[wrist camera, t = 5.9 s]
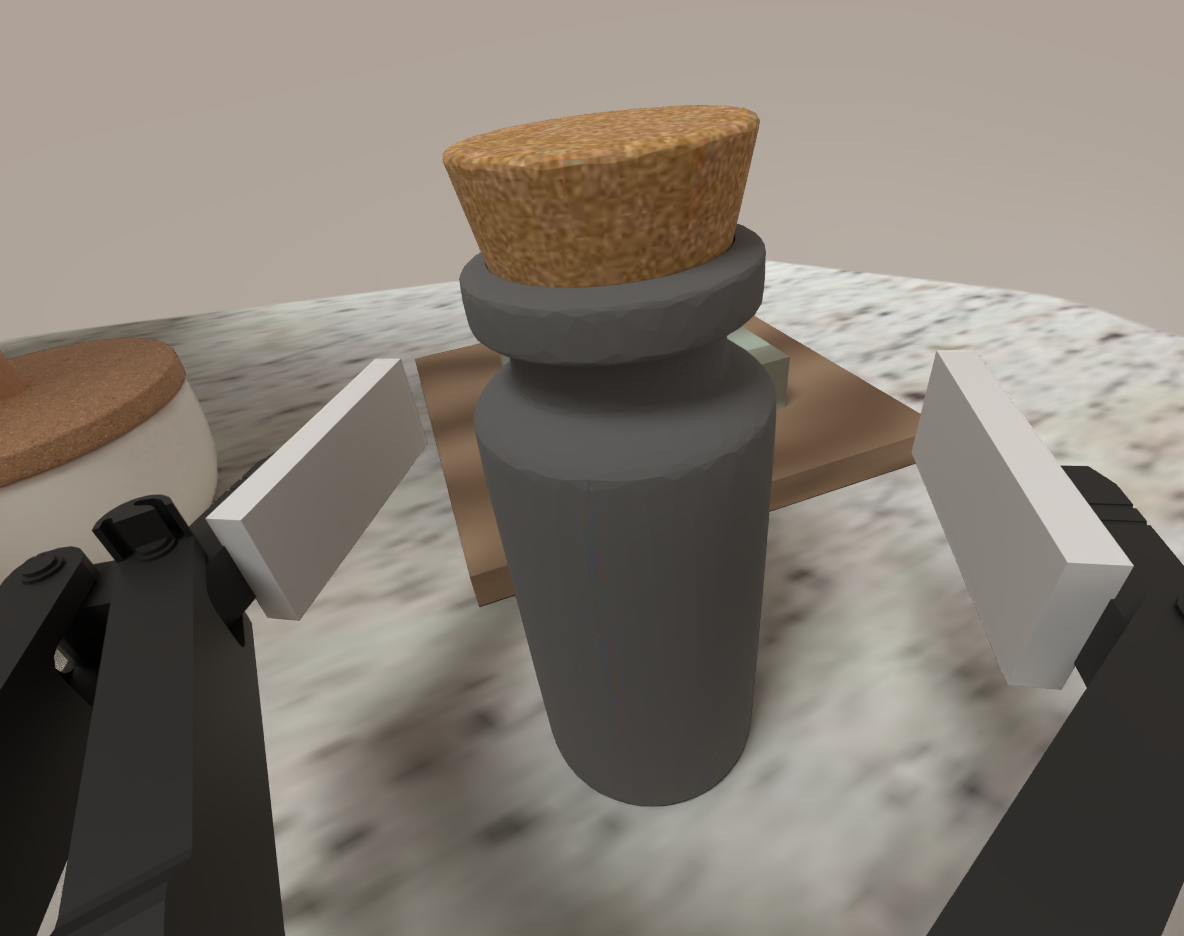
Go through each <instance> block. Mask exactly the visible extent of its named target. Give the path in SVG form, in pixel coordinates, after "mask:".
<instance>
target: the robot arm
mask: <svg viewBox="0 0 1184 936" xmlns="http://www.w3.org/2000/svg"><path fill="white" fill-rule="evenodd" d="M427 444H428V443H427V440H426V437H425V434H424V431H423V428H422V424H421V421H420V418H419V415H418V412H417V409H416V406H415V402H414V399H413V396H412V393H411V390H410V387H409V383H408V380H407V377H406V374H405V371H404V368H403V365H402V361H401V359H374V360H373V361H372V362H371V363H370V364H369V365H368V366H367V367H366V368H365V369H364V370H363V371H362V372H361V373H360V374H358V375H357V376H356V377H355V378H354V379H353V380H352V381H351V382H350V383H349V384H348V385H347V386H346V387H345V388H344V389H343V390H341V391H340V392H339V393H338V394H337V395H336V396H335V397H334V398H333V399H332V400H331V401H330V402H329V403H328V404H327V405H325V406H324V407H323V408H322V409H321V410H320V411H319V412H318V413H317V414H316V415H315V416H314V417H313V418H312V419H311V420H310V421H308V422H307V423H306V424H305V425H304V426H303V427H302V428H301V429H300V430H299V431H298V432H297V433H296V434H295V435H294V436H293V437H291V438H290V439H289V440H288V441H287V442H286V443H285V444H284V445H283V446H282V447H281V448H280V449H279V450H278V451H277V452H275V453H273V454H272V455H270V456H268V457H266V458H265V459H263V460H261V461H260V462H258V463H257V464H256V465H254V466H253V467H252V468H251V469H250V470H249V471H248V472H247V473H246V474H245V475H244V476H243V477H242V480H238V481H237V482H236V483H235V484H234V485H233V486H232V487H231V488H230V491H226V492H225V493H224V494H223V495H222V496H221V497H220V498H219V499H218V500H217V501H216V502H215V503H213V504H212V505H211V506H210V507H209V508H208V509H207V510H206V511H205V512H204V513H203V514H202V515H200V516H199V517H198V518H197V519H196V520H195V521H194V522H193V523H192V524H191V525H190V526H188V524H187V523H186V521H185V520H184V518H183V517H182V515H181V514H180V512H179V511H178V509H177V507H176V506H175V504H174V503H173V501H172V500H171V498H170V497H168V496H165V495H162V494H159V495H147V496H143V497H139V498H135V499H133V500H130V501H128V502H126V503H123V504H121V505H119V506H117V507H116V508H114V509H112V510H111V511H109V512H107V513H106V514H105V515H104V516H103V517H101V518H100V519H99V520H98V521H97V522H96V523H95V525H94V527H93V529H92V530H91V531H92V532H93V533H94V535H95V536H96V537H97V538H98V540H99V541H100V542H101V543H102V545H103V546H104V547H105V549H106V550H107V551H108V552H109V554H110V555H111V556H112V557H113V559H114V560H113V561H108V562H102V563H97V564H93V563H92V562H91V561H90V560H89V558H88V557H87V556H86V555H85V553H84V552H83V551H82V550H81V549H80V548H78V547H73V546H69V547H61V548H57V549H54V550H50V551H45V552H42V553H40V554H38V555H37V556H36V557H35V556H33V557H31V558H30V559H28V560H26V561H25V562H24V563H23V564H22V565H20V566H19V567H17V568H16V569H15V570H13V571H12V572H11V573H10V574H9V575H8V576H7V577H6V578H5V579H4V581H3V582H2V583H1V585H0V936H37V933H38V931H39V928H40V926H41V923H42V921H43V918H44V916H45V913H46V911H47V909H48V906H49V904H50V901H51V899H52V896H53V894H54V891H55V889H56V886H57V884H58V882H59V879H60V877H61V874H62V872H63V869H64V867H65V864H66V862H67V867H66V873H65V879H64V885H63V891H62V897H61V903H60V909H59V915H58V920H57V923H56V926H55V929H54V931H53V932H52V934H51V935H50V936H285V931H284V923H283V913H282V904H281V894H280V885H279V875H278V866H277V857H276V847H275V838H274V828H273V819H272V809H271V800H270V791H269V781H268V772H267V762H266V753H265V743H264V734H263V724H262V715H261V706H260V696H259V687H258V677H257V668H256V658H255V649H254V639H253V630H252V623H251V621H250V619H249V617H248V616H247V614H246V613H245V610H246V609H247V608H248V607H249V605H250V604H251V603H252V602H253V601H254V599H255V598H256V600H257V602H258V603H259V605H260V606H261V608H262V609H263V611H264V613H265V614H266V616H267V617H268V618H276V619H287V620H298V621H300V619H301V618H302V616H303V615H304V614H305V612H306V611H307V610H308V608H309V607H310V605H311V604H312V603H313V601H314V600H315V598H316V597H317V596H318V594H319V593H320V592H321V590H322V589H323V587H324V586H325V585H326V583H327V582H328V581H329V579H330V578H331V576H332V575H333V574H334V572H335V571H336V570H337V568H338V567H339V565H340V564H341V563H342V561H343V560H344V558H345V557H346V556H347V554H348V553H349V552H350V550H351V549H352V547H353V546H354V545H355V543H356V542H357V541H358V539H359V538H360V536H361V535H362V534H363V532H364V531H365V530H366V528H367V527H368V525H369V524H370V523H371V521H372V520H373V519H374V517H375V516H376V514H377V513H378V512H379V510H380V509H381V507H382V506H383V505H384V503H385V502H386V501H387V499H388V498H389V496H390V495H391V494H392V492H393V491H394V490H395V488H396V487H397V485H398V484H399V483H400V481H401V480H402V479H403V477H404V476H405V474H406V473H407V472H408V470H409V469H410V467H411V466H412V465H413V463H414V462H415V461H416V459H417V458H418V456H419V455H420V454H421V452H422V451H423V450H424V448H425V447H426V445H427ZM911 453H912V455H913V457H914V460H915V462H916V465H917V467H918V469H919V472H920V474H921V477H922V479H923V482H924V484H925V486H926V489H927V491H928V494H929V496H930V499H931V501H932V503H933V506H934V508H935V511H936V513H937V516H938V518H939V520H940V523H941V525H942V528H943V530H944V533H945V535H946V537H947V540H948V542H949V545H950V547H951V549H952V552H953V554H954V557H955V559H956V562H957V564H958V566H959V569H960V571H961V574H962V576H963V579H964V581H965V583H966V586H967V588H968V591H969V593H970V596H971V598H972V600H973V603H974V605H975V608H976V610H977V613H978V615H979V617H980V620H981V622H982V625H983V627H984V629H985V632H986V634H987V637H988V639H989V642H990V644H991V646H992V649H993V651H994V654H995V656H996V659H997V661H998V663H999V666H1000V668H1001V671H1002V673H1003V676H1004V678H1005V680H1006V683H1007V685H1014V686H1025V687H1036V688H1047V689H1059V690H1062V688H1063V686H1064V685H1065V683H1066V681H1067V679H1068V678H1069V676H1070V674H1071V673H1072V671H1073V669H1074V667H1075V666H1076V668H1077V670H1078V672H1079V674H1080V676H1081V677H1082V679H1083V681H1084V683H1085V685H1086V687H1087V689H1086V690H1085V692H1084V693H1083V695H1082V696H1081V698H1080V700H1079V701H1078V703H1077V704H1076V706H1075V707H1074V709H1073V710H1072V712H1071V713H1070V715H1069V716H1068V718H1067V720H1066V721H1065V723H1064V724H1063V726H1062V727H1061V729H1060V730H1059V732H1058V733H1057V735H1056V737H1055V738H1054V740H1053V741H1052V743H1051V744H1050V746H1049V747H1048V749H1047V750H1046V752H1045V753H1044V755H1043V757H1042V758H1041V760H1040V761H1039V763H1038V764H1037V766H1036V767H1035V769H1034V770H1033V772H1032V774H1031V775H1030V777H1029V778H1028V780H1027V781H1026V783H1025V784H1024V786H1023V787H1022V789H1021V791H1020V792H1019V794H1018V795H1017V797H1016V798H1015V800H1014V801H1013V803H1012V804H1011V806H1010V807H1009V809H1008V811H1007V812H1006V814H1005V815H1004V817H1003V818H1002V820H1001V821H1000V823H999V824H998V826H997V828H996V829H995V831H994V832H993V834H992V835H991V837H990V838H989V840H988V841H987V843H986V844H985V846H984V848H983V849H982V851H981V852H980V854H979V855H978V857H977V858H976V860H975V861H974V863H973V865H972V866H971V868H970V869H969V871H968V872H967V874H966V875H965V877H964V878H963V880H962V881H961V883H960V885H959V886H958V888H957V889H956V891H955V892H954V894H953V895H952V897H951V898H950V900H949V902H948V903H947V905H946V906H945V908H944V909H943V911H942V912H941V914H940V915H939V917H938V918H937V920H936V922H935V923H934V925H933V926H932V928H931V929H930V931H929V932H928V934H927V935H926V936H1161V935H1162V933H1163V930H1164V928H1165V926H1166V923H1167V921H1168V918H1169V916H1170V914H1171V911H1172V909H1173V906H1174V904H1175V902H1176V899H1177V897H1178V895H1179V892H1180V890H1181V887H1182V885H1183V883H1184V565H1183V564H1182V563H1181V562H1180V561H1179V559H1178V558H1177V557H1176V556H1175V554H1174V553H1173V552H1172V551H1171V550H1170V548H1169V547H1168V546H1167V545H1166V544H1165V542H1164V541H1163V540H1162V539H1161V538H1160V536H1159V535H1158V534H1157V533H1156V532H1155V530H1154V529H1153V528H1152V527H1151V525H1147V521H1146V519H1145V518H1144V517H1143V516H1142V515H1141V513H1140V512H1139V511H1138V510H1137V509H1136V508H1133V504H1132V503H1131V501H1130V500H1129V499H1128V498H1127V496H1126V495H1125V494H1124V493H1123V492H1122V490H1121V489H1120V488H1119V487H1118V486H1117V484H1115V483H1114V482H1112V481H1111V480H1109V479H1108V478H1106V477H1104V476H1103V475H1101V474H1100V473H1098V472H1097V471H1095V470H1093V469H1092V468H1090V467H1089V466H1060V465H1059V463H1058V462H1057V461H1056V459H1055V458H1054V457H1053V455H1052V454H1051V453H1050V451H1049V450H1048V448H1047V447H1046V446H1045V444H1044V443H1043V442H1042V440H1041V439H1040V438H1039V436H1038V435H1037V433H1036V432H1035V431H1034V429H1033V428H1032V427H1031V425H1030V424H1029V423H1028V421H1027V420H1026V419H1025V417H1024V416H1023V414H1022V413H1021V412H1020V410H1019V409H1018V408H1017V406H1016V405H1015V404H1014V402H1013V401H1012V399H1011V398H1010V397H1009V395H1008V394H1007V393H1006V391H1005V390H1004V389H1003V387H1002V386H1001V385H1000V383H999V382H998V380H997V379H996V378H995V376H994V375H993V374H992V372H991V371H990V370H989V368H988V367H987V365H986V364H985V363H984V361H983V360H982V359H981V357H980V356H979V355H978V353H977V352H976V351H975V350H937V351H936V355H935V359H934V363H933V367H932V371H931V375H930V379H929V383H928V387H927V392H926V396H925V400H924V404H923V408H922V412H921V416H920V420H919V424H918V428H917V432H916V436H915V440H914V444H913V448H912V452H911ZM56 648H57V649H58V650H59V651H60V652H61V653H62V654H63V655H64V657H65V658H66V659H67V660H68V662H67V664H66V666H65V668H64V669H63V670H62V672H60V671H58V670H57V669H56V668H55V662H54V655H55V652H56ZM67 859H68V861H67Z"/></svg>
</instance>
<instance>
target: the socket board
mask: <svg viewBox="0 0 1184 936" xmlns="http://www.w3.org/2000/svg"><path fill="white" fill-rule="evenodd" d="M727 339H729V340H730V341H732V342H734V343H735V344H737V345H739V346H740V347H742V348H744V349H745V350H747V351H748V352H749V353H750V354H751V355H753V356H754V357H755V358H756V359H757V360H758V361H759V362H760V363H761V364H762V365H763V367H764V368H765V370H766V371H767V373H768V374H769V376H770V377H771V379H772V380H773V384H774V387H775V392H776V429H775V444H774V459H773V474H772V486H771V498H770V510H769V511H771V510H774V509H777V508H780V507H783V506H786V505H789V504H793V503H796V502H799V501H802V500H805V499H808V498H811V497H814V496H817V495H820V494H823V493H826V492H829V491H832V490H835V489H838V488H841V487H844V486H847V485H850V484H853V483H856V482H859V481H863V480H866V479H869V478H872V477H875V476H878V475H881V474H884V473H887V472H890V471H893V470H896V469H899V468H902V467H905V466H908V465H911V464H914V463H916V462H915V460H914V457H913V455H912V453H911V452H912V448H913V444H914V440H915V436H916V432H917V428H918V424H919V420H920V416H921V414H920V413H918V412H916V411H915V410H913V409H911V408H909V407H908V406H906V405H904V404H903V403H901V402H899V401H898V400H896V399H894V398H893V397H891V396H889V395H887V394H886V393H884V392H882V391H881V390H879V389H877V388H876V387H874V386H872V385H871V384H869V383H867V382H865V381H864V380H862V379H860V378H859V377H857V376H855V375H854V374H852V373H850V372H848V371H847V370H845V369H843V368H842V367H840V366H838V365H837V364H835V363H833V362H832V361H830V360H828V359H826V358H825V357H823V356H821V355H820V354H818V353H816V352H815V351H813V350H811V349H810V348H808V347H806V346H804V345H803V344H801V343H799V342H798V341H796V340H794V339H793V338H791V337H789V336H787V335H786V334H784V333H782V332H781V331H779V330H777V329H776V328H774V327H772V326H771V325H769V324H767V323H765V322H764V321H762V320H760V319H759V318H757V317H755V316H753V317H752V318H751V319H750V320H749V321H748V322H747V323H745V324H744V325H743V326H742V327H741V328H739V329H737V330H736V331H734V332H732V333H731V334H729V335H727ZM415 361H416V365H417V369H418V373H419V377H420V381H421V385H422V389H423V393H424V397H425V401H426V405H427V409H428V413H429V417H430V420H431V424H432V428H433V432H434V436H435V440H436V444H437V448H438V452H439V456H440V460H441V464H442V468H443V472H444V476H445V480H446V484H447V488H448V492H449V496H450V500H451V504H452V508H453V512H454V516H455V520H456V524H457V528H458V532H459V536H460V539H461V543H462V547H463V551H464V555H465V559H466V563H467V567H468V571H469V575H470V579H471V582H472V585H473V588H474V591H475V594H476V598H477V601H478V604H479V606H482V605H485V604H488V603H491V602H494V601H497V600H500V599H503V598H506V597H509V596H513V595H515V591H514V587H513V583H512V579H511V576H510V572H509V568H508V564H507V560H506V556H505V553H504V549H503V545H502V541H501V537H500V533H499V530H498V526H497V522H496V518H495V514H494V510H493V507H492V503H491V499H490V495H489V491H488V487H487V483H486V479H485V474H484V470H483V466H482V461H481V457H480V452H479V448H478V444H477V439H476V435H475V428H474V412H475V407H476V403H477V401H478V399H479V397H480V395H481V393H482V391H483V389H484V388H485V386H486V385H487V383H488V382H489V381H490V380H491V378H492V377H493V376H494V375H495V374H496V373H497V372H498V371H499V369H500V368H501V367H503V366H504V365H505V364H506V363H507V362H509V361H510V358H509V357H506V356H504V355H502V354H500V353H497V352H495V351H493V350H491V349H489V348H488V347H486V346H485V345H484V344H482V343H481V344H476V345H472V346H468V347H463V348H459V349H455V350H451V351H446V352H442V353H438V354H434V355H429V356H425V357H421V358H417V359H415Z"/></svg>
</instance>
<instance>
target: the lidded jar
mask: <svg viewBox="0 0 1184 936" xmlns="http://www.w3.org/2000/svg"><path fill="white" fill-rule="evenodd" d="M185 375H186V372H185V370H184V368H183V365H182V363H181V361H180V359H179V357H178V356H177V354H176V352H175V350H174V349H173V348H171V347H170V346H169V345H167V344H165V343H163V342H160V341H157V340H152V339H145V338H117V339H105V340H95V341H88V342H83V343H77V344H71V345H66V346H61V347H56V348H51V349H47V350H43V351H39V352H35V353H31V354H28V355H24V356H20V357H16V358H13V359H9V360H7V359H6V358H5V356H4V355H3V354H2V352H1V351H0V585H1V583H2V582H3V581H4V579H5V578H6V577H7V576H8V575H9V574H10V573H11V572H12V571H13V570H15V569H16V568H17V567H19V566H20V565H22V564H23V563H24V562H25V561H26V560H28V559H30V558H31V557H33V556H35V557H36V556H37V555H38V554H40V553H42V552H45V551H50V550H54V549H57V548H61V547H69V546H73V547H78V548H80V549H81V550H82V551H83V552H84V553H85V555H86V556H87V557H88V558H89V560H90V561H91V562H92V563H93V564H97V563H102V562H108V561H113V560H114V559H113V557H112V556H111V555H110V554H109V552H108V551H107V550H106V549H105V547H104V546H103V545H102V543H101V542H100V541H99V540H98V538H97V537H96V536H95V535H94V533H93V532H92V531H91V530H92V529H93V527H94V525H95V523H96V522H97V521H98V520H99V519H100V518H101V517H103V516H104V515H105V514H106V513H107V512H109V511H111V510H112V509H114V508H116V507H117V506H119V505H121V504H123V503H126V502H128V501H130V500H133V499H135V498H139V497H143V496H147V495H159V494H162V495H165V496H168V497H170V498H171V500H172V501H173V503H174V504H175V506H176V507H177V509H178V511H179V512H180V514H181V515H182V517H183V518H184V520H185V521H186V523H187V524H188V526H190V525H191V524H192V523H193V522H194V521H195V520H196V519H197V518H198V517H199V516H200V515H202V514H203V513H204V512H205V511H206V510H207V509H208V508H209V507H210V505H211V502H212V500H213V497H214V494H215V490H216V484H217V478H218V467H217V452H216V448H215V444H214V440H213V435H212V433H211V430H210V427H209V424H208V422H207V419H206V416H205V414H204V412H203V410H202V408H201V405H200V403H199V401H198V399H197V397H196V395H195V393H194V391H193V389H192V388H191V386H190V384H189V382H188V381H187V379H186V377H185Z"/></svg>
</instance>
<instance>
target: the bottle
mask: <svg viewBox="0 0 1184 936" xmlns="http://www.w3.org/2000/svg"><path fill="white" fill-rule="evenodd" d="M759 123H760V120H759V118H758V116H757V114H756V113H755V112H752V111H750V110H747V109H745V108H739V107H731V106H713V105H711V106H710V105H695V106H694V105H693V106H692V105H689V106H669V107H655V108H640V109H629V110H619V111H609V112H600V113H593V114H585V115H577V116H570V117H563V118H558V119H551V120H546V121H539V122H533V123H529V124H523V125H518V126H513V127H508V128H503V129H499V130H496V131H492V132H488V133H485V134H481V135H478V136H475V137H471V138H468V139H465V140H462V141H460V142H458V143H456V144H454V145H452V146H451V147H449V148H447V149H446V151H445V152H444V153H443V163H444V165H445V168H446V170H447V172H448V175H449V177H450V179H451V182H452V184H453V187H454V189H455V191H456V194H457V196H458V199H459V201H460V203H461V206H462V208H463V210H464V213H465V215H466V218H467V220H468V222H469V225H470V227H471V229H472V232H473V234H474V237H475V239H476V241H477V243H478V246H479V248H480V251H481V253H479V254H477V255H476V256H474V258H472V259H471V260H470V261H469V262H468V263H467V264H466V266H464V268H463V270H462V273H461V275H460V278H459V280H460V288H461V294H462V300H463V304H464V308H465V312H466V316H467V320H468V324H469V326H470V329H471V331H472V333H473V334H474V336H475V337H476V339H477V340H478V341H479V342H481V343H482V344H484V345H485V346H486V347H488V348H489V349H491V350H493V351H495V352H497V353H500V354H502V355H504V356H506V357H509V358H510V361H509V362H507V363H506V364H505V365H504V366H503V367H501V368H500V369H499V371H498V372H497V373H496V374H495V375H494V376H493V377H492V378H491V380H490V381H489V382H488V383H487V385H486V386H485V388H484V389H483V391H482V393H481V395H480V397H479V399H478V401H477V403H476V407H475V412H474V428H475V435H476V439H477V444H478V448H479V452H480V457H481V461H482V466H483V470H484V474H485V479H486V483H487V487H488V491H489V495H490V499H491V503H492V507H493V510H494V514H495V518H496V522H497V526H498V530H499V533H500V537H501V541H502V545H503V549H504V553H505V556H506V560H507V564H508V568H509V572H510V576H511V579H512V583H513V587H514V591H515V595H516V599H517V602H518V606H519V610H520V614H521V618H522V622H523V625H524V629H525V633H526V637H527V641H528V645H529V648H530V652H531V656H532V660H533V664H534V668H535V671H536V675H537V679H538V682H539V686H540V690H541V693H542V697H543V700H544V704H545V708H546V711H547V715H548V718H549V722H550V726H551V729H552V733H553V735H554V738H555V740H556V743H557V746H558V748H559V750H560V752H561V754H562V756H563V757H564V759H565V760H566V762H567V764H568V765H569V766H570V768H571V769H572V770H573V771H574V772H575V774H576V775H577V776H578V777H579V778H581V779H582V780H583V781H584V782H585V783H586V784H588V785H589V786H590V787H591V788H593V789H594V790H596V791H598V792H599V793H601V794H603V795H606V796H608V797H610V798H613V799H615V800H618V801H621V802H624V803H628V804H633V805H639V806H665V805H670V804H675V803H679V802H682V801H685V800H687V799H690V798H693V797H696V796H698V795H700V794H702V793H704V792H705V791H707V790H709V789H710V788H711V787H713V786H714V785H715V784H717V783H718V782H719V781H720V780H721V779H722V778H723V777H725V776H726V775H727V773H728V772H729V771H730V769H731V768H732V767H733V765H734V764H735V763H736V761H737V759H738V758H739V756H740V754H741V752H742V751H743V748H744V745H745V742H746V739H747V736H748V732H749V727H750V719H751V711H752V703H753V692H754V682H755V671H756V660H757V650H758V639H759V627H760V616H761V605H762V593H763V581H764V569H765V557H766V546H767V534H768V522H769V510H770V498H771V486H772V474H773V459H774V444H775V429H776V392H775V387H774V384H773V380H772V379H771V377H770V376H769V374H768V373H767V371H766V370H765V368H764V367H763V365H762V364H761V363H760V362H759V361H758V360H757V359H756V358H755V357H754V356H753V355H751V354H750V353H749V352H748V351H747V350H745V349H744V348H742V347H740V346H739V345H737V344H735V343H734V342H732V341H730V340H729V339H727V335H729V334H731V333H732V332H734V331H736V330H737V329H739V328H741V327H742V326H743V325H744V324H745V323H747V322H748V321H749V320H750V319H751V318H752V317H753V316H754V315H755V313H756V312H757V310H758V308H759V307H760V305H761V303H762V298H763V291H764V281H765V256H766V251H765V245H764V243H763V241H762V239H761V238H760V237H759V236H758V235H757V234H756V233H755V232H753V231H751V230H750V229H748V228H746V227H744V226H742V225H740V224H737V220H738V216H739V212H740V207H741V203H742V199H743V194H744V190H745V186H746V181H747V177H748V173H749V168H750V164H751V159H752V155H753V150H754V146H755V142H756V138H757V133H758V129H759Z"/></svg>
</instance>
